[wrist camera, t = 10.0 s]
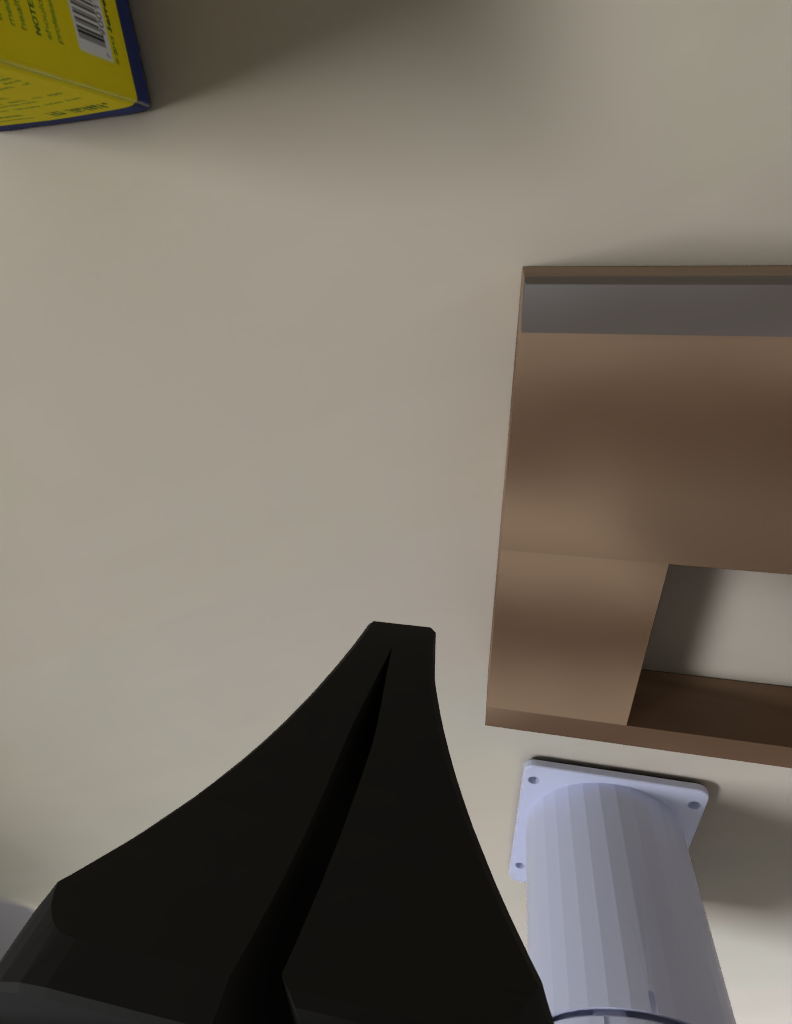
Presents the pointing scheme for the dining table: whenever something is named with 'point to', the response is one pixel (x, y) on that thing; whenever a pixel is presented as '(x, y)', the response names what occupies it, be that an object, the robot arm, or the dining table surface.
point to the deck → (640, 498)
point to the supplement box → (68, 62)
